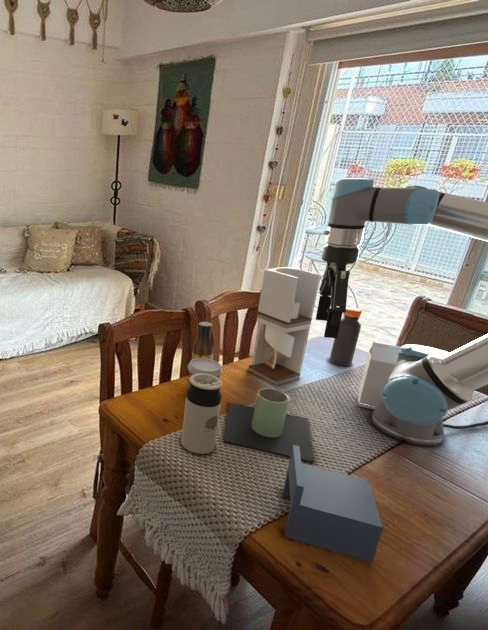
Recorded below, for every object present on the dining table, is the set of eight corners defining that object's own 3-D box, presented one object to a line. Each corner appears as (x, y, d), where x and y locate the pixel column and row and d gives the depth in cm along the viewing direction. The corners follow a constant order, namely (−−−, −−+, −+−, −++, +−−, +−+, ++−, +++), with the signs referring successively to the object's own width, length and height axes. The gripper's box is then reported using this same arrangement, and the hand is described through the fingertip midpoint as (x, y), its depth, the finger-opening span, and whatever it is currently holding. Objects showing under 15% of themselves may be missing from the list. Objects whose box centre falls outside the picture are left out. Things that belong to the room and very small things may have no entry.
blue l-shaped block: (358, 511, 89) (373, 462, 85) (372, 562, 77) (389, 509, 73) (282, 491, 94) (292, 444, 90) (284, 537, 82) (296, 485, 78)
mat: (306, 419, 120) (306, 418, 120) (313, 463, 103) (313, 461, 103) (229, 403, 128) (229, 402, 127) (224, 441, 110) (224, 440, 110)
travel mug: (175, 437, 112) (182, 374, 106) (203, 433, 113) (212, 371, 107) (190, 457, 104) (199, 390, 98) (220, 452, 106) (230, 386, 100)
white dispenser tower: (248, 370, 149) (264, 269, 137) (270, 364, 153) (288, 266, 141) (275, 384, 139) (296, 277, 127) (299, 378, 143) (321, 274, 131)
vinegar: (349, 360, 157) (363, 307, 150) (352, 368, 151) (366, 313, 144) (328, 357, 159) (340, 304, 153) (330, 364, 153) (342, 310, 147)
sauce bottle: (212, 380, 141) (220, 323, 134) (207, 388, 136) (215, 329, 129) (192, 375, 144) (199, 318, 138) (186, 383, 139) (193, 324, 133)
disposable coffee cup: (213, 394, 133) (218, 358, 129) (220, 410, 124) (226, 372, 120) (181, 392, 134) (185, 356, 130) (186, 408, 125) (191, 371, 121)
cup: (282, 424, 117) (288, 391, 114) (283, 440, 110) (290, 405, 107) (251, 418, 120) (257, 385, 116) (250, 433, 113) (256, 398, 110)
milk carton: (387, 413, 124) (405, 351, 118) (358, 406, 127) (374, 346, 121) (385, 402, 130) (402, 343, 123) (357, 395, 133) (372, 337, 127)
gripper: (316, 237, 117) (303, 312, 124) (333, 253, 95) (316, 343, 102) (348, 238, 115) (333, 315, 122) (374, 255, 93) (353, 348, 100)
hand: (325, 328), depth 112 cm, fingers open, 13 cm apart
